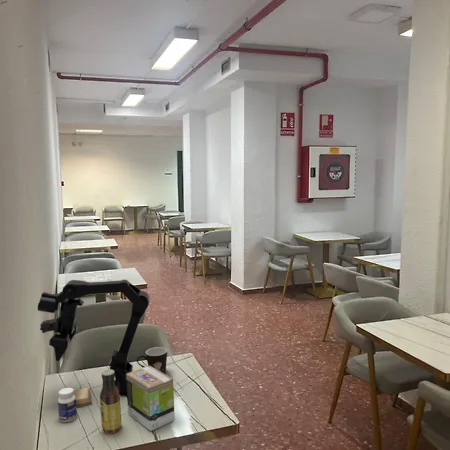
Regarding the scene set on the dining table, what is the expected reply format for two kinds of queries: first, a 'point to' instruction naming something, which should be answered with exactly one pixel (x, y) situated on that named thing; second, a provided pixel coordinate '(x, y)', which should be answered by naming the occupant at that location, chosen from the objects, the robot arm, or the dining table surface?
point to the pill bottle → (67, 405)
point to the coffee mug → (156, 358)
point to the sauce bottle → (110, 403)
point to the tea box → (150, 397)
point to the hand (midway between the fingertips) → (60, 355)
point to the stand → (83, 397)
